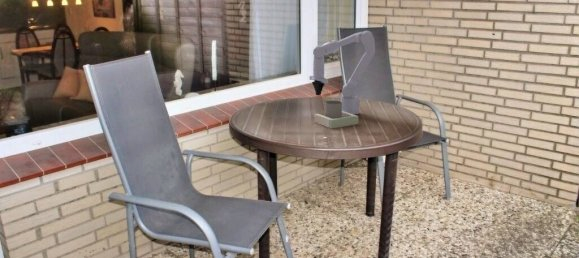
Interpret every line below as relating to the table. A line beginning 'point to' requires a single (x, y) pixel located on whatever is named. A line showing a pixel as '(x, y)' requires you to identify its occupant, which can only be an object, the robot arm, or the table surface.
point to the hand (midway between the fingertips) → (318, 95)
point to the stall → (337, 120)
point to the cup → (333, 109)
